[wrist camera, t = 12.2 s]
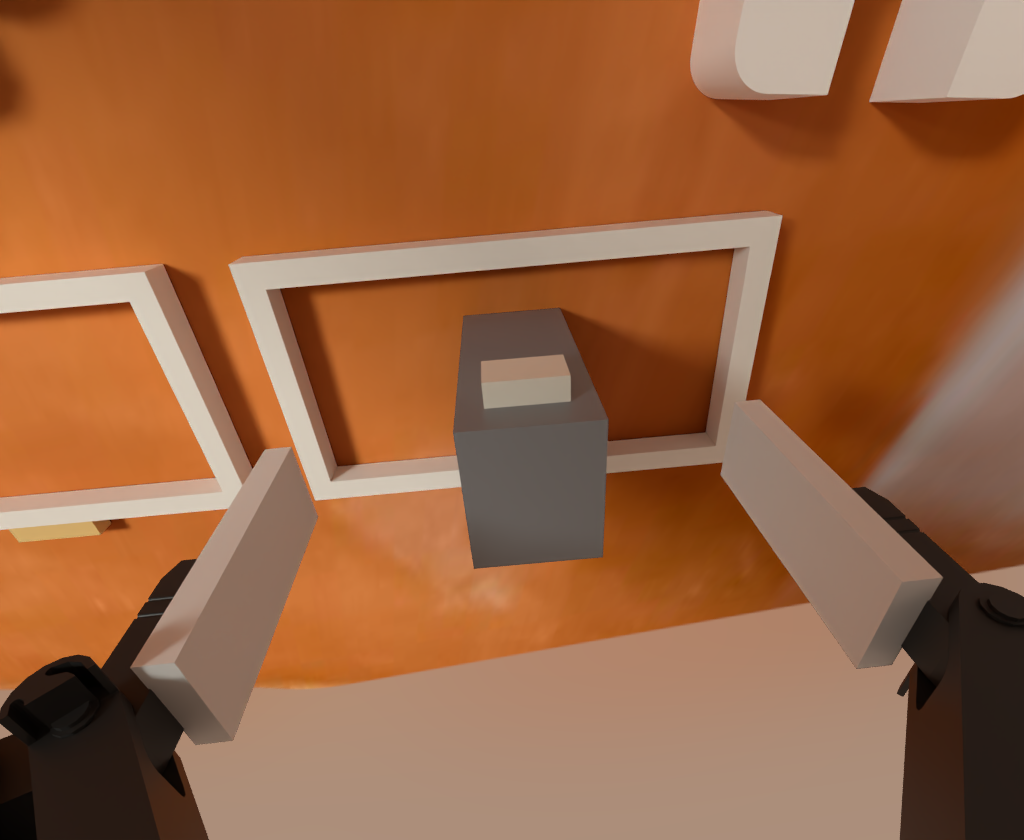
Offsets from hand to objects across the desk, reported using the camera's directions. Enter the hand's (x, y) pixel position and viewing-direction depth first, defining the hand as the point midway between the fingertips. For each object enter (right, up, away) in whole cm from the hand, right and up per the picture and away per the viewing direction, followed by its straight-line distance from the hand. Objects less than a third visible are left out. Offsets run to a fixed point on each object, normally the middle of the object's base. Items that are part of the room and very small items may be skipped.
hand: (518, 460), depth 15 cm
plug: (0, +4, +7) cm, 8 cm away
